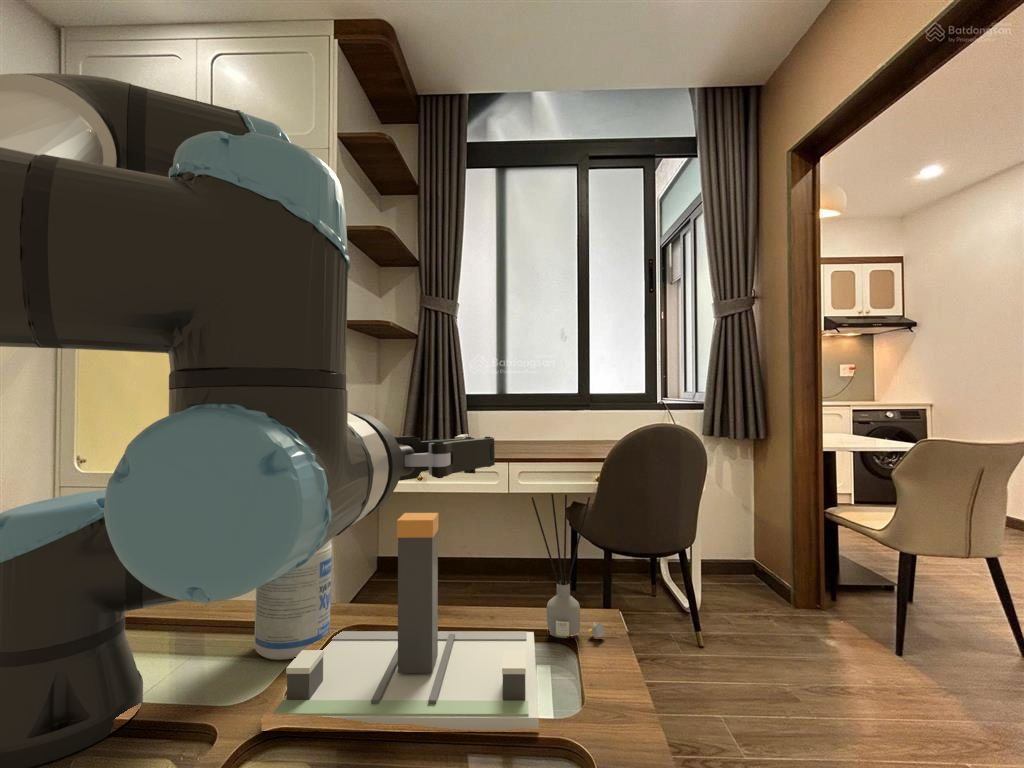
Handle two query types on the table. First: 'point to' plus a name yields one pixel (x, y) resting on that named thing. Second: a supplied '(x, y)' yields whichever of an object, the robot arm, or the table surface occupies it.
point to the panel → (419, 681)
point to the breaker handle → (417, 592)
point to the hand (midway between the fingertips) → (400, 448)
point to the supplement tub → (294, 608)
